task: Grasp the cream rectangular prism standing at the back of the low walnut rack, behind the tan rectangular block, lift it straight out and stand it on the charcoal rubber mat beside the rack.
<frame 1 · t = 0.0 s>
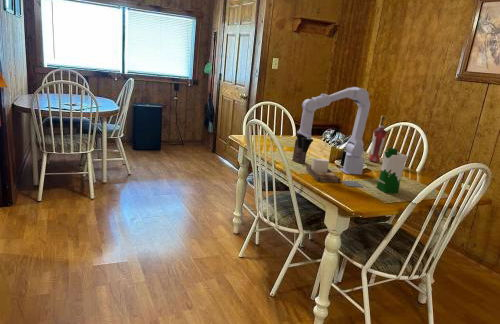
hand: (302, 150, 184), 10 cm above the table, tool pointing down, fingers open, 7 cm apart
cream rectangular prism: (318, 172, 185), resting in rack
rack: (321, 175, 180), on the table
mat: (351, 184, 172), on the table
liquor: (373, 161, 222), on the table
tan rectangular block: (325, 179, 176), resting in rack
milk carton: (387, 191, 169), on the table
box: (298, 161, 201), on the table
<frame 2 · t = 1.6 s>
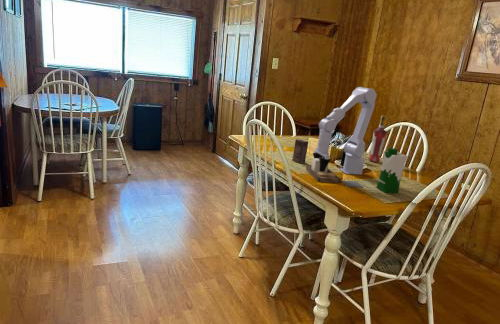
hand: (319, 169, 184), 2 cm above the table, tool pointing down, fingers open, 7 cm apart
nothing on the table moved.
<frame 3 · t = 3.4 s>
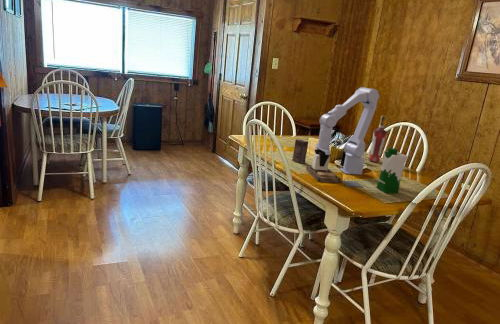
hand: (320, 164, 183), 4 cm above the table, tool pointing down, fingers closed on cream rectangular prism, 4 cm apart
cream rectangular prism: (319, 168, 184), point 2 cm above the table, touching gripper
everything else where it was.
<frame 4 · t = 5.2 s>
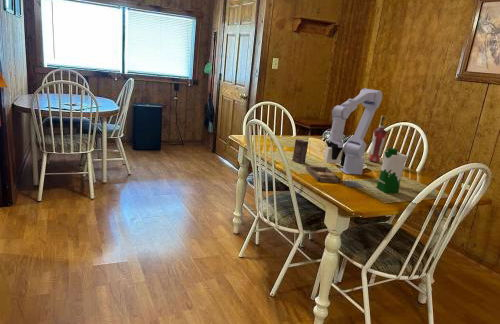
hand: (332, 158, 178), 9 cm above the table, tool pointing down, fingers closed on cream rectangular prism, 4 cm apart
cream rectangular prism: (331, 162, 178), point 7 cm above the table, touching gripper
everything else where it was.
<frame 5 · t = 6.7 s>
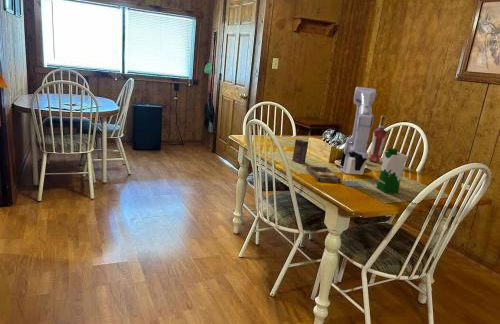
hand: (355, 168, 170), 8 cm above the table, tool pointing down, fingers closed on cream rectangular prism, 4 cm apart
cream rectangular prism: (354, 172, 170), point 6 cm above the table, touching gripper
everything else where it was.
when the fingers open (3 cm above the table, at t = 8.0 s): cream rectangular prism stays where it is, resting on mat.
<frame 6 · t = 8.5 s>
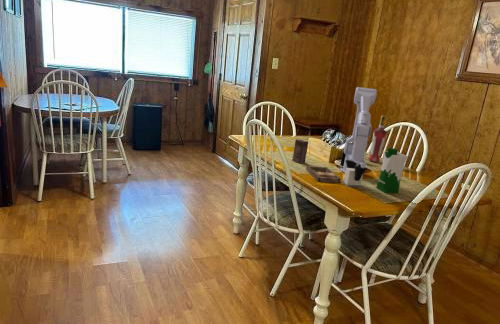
hand: (353, 177, 171), 3 cm above the table, tool pointing down, fingers open, 7 cm apart
cream rectangular prism: (352, 183, 172), resting on mat
everything else where it was.
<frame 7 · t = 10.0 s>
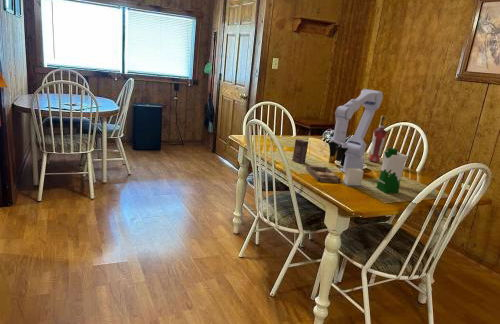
hand: (335, 158, 178), 9 cm above the table, tool pointing down, fingers open, 7 cm apart
nothing on the table moved.
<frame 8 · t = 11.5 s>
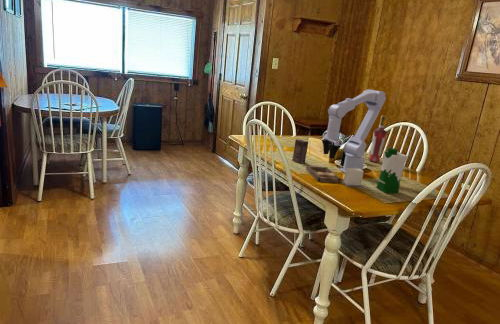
hand: (328, 156, 181), 9 cm above the table, tool pointing down, fingers open, 7 cm apart
nothing on the table moved.
at the end: cream rectangular prism 0.0 cm off-centre on the mat, point 0.4 cm above the mat's base; cream rectangular prism tilted 0°; the gripper is holding nothing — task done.
